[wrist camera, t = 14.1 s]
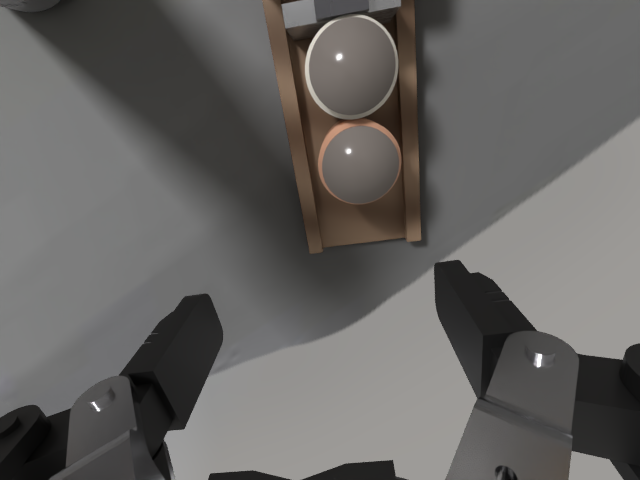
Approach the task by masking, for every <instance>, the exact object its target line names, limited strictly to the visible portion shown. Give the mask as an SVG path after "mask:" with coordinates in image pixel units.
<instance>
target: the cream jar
mask: <svg viewBox="0 0 640 480" xmlns="http://www.w3.org/2000/svg"><path fill="white" fill-rule="evenodd" d="M397 75H398V54H397V50H396V46H395V44H394V41H393V39H392V37H391V36H390V34H389V33H388V31H387V30H386V29H385V28H384V27H383V26H382V25H381V24H380V23H379V22H377V21H376V20H374V19H372V18H370V17H368V16H365V15H360V14H347V15H343V16H339V17H337V18H335V19H333V20H331V21H330V22H328V23H327V24H325V25H324V26H323V27H322V28H321V29H320V30H319V31H318V33H317V34H316V35H315V37H314V38H313V40H312V42H311V44H310V46H309V49H308V52H307V56H306V61H305V77H306V82H307V86H308V89H309V91H310V94H311V96H312V97H313V99H314V100H315V102H316V103H317V104H318V105H319V107H320V108H322V109H323V110H324V111H325V112H327V113H328V114H330V115H332V116H334V117H337V118H340V119H348V120H352V119H359V118H363V117H365V116H368V115H370V114H371V113H373V112H375V111H376V110H377V109H379V108H380V107H381V106H382V105H383V104H384V103H385V101H386V100H387V99H388V97H389V96H390V94H391V92H392V90H393V88H394V86H395V83H396V79H397Z"/></svg>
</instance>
